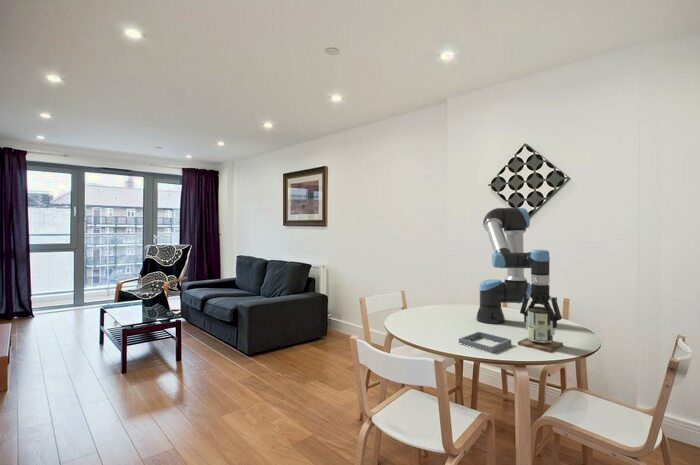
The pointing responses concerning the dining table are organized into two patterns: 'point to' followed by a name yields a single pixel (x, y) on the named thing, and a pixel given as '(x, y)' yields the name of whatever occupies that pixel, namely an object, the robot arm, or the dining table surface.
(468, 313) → the dining table surface
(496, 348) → the grey flat open frame
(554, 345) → the walnut board
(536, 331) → the coffee can
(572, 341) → the dining table surface
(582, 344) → the dining table surface
